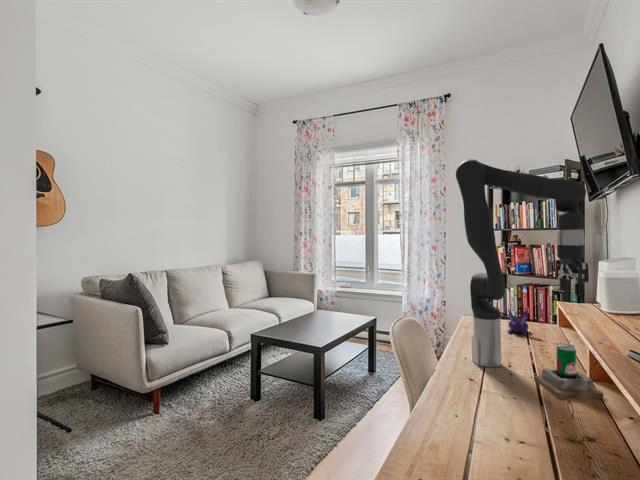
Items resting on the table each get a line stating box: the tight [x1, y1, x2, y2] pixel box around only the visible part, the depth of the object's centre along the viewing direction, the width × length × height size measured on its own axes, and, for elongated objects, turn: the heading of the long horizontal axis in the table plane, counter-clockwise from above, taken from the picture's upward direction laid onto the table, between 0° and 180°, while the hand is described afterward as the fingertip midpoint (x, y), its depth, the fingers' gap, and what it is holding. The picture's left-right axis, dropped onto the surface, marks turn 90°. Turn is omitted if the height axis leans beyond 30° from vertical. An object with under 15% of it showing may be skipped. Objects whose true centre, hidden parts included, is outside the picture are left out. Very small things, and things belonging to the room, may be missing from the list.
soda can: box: [556, 342, 577, 379], centre depth 115 cm, size 5×5×12 cm
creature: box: [507, 307, 529, 336], centre depth 177 cm, size 9×18×12 cm, turn 146°
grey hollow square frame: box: [533, 368, 604, 399], centre depth 115 cm, size 13×13×4 cm
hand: (571, 293), depth 123 cm, fingers open, 8 cm apart
